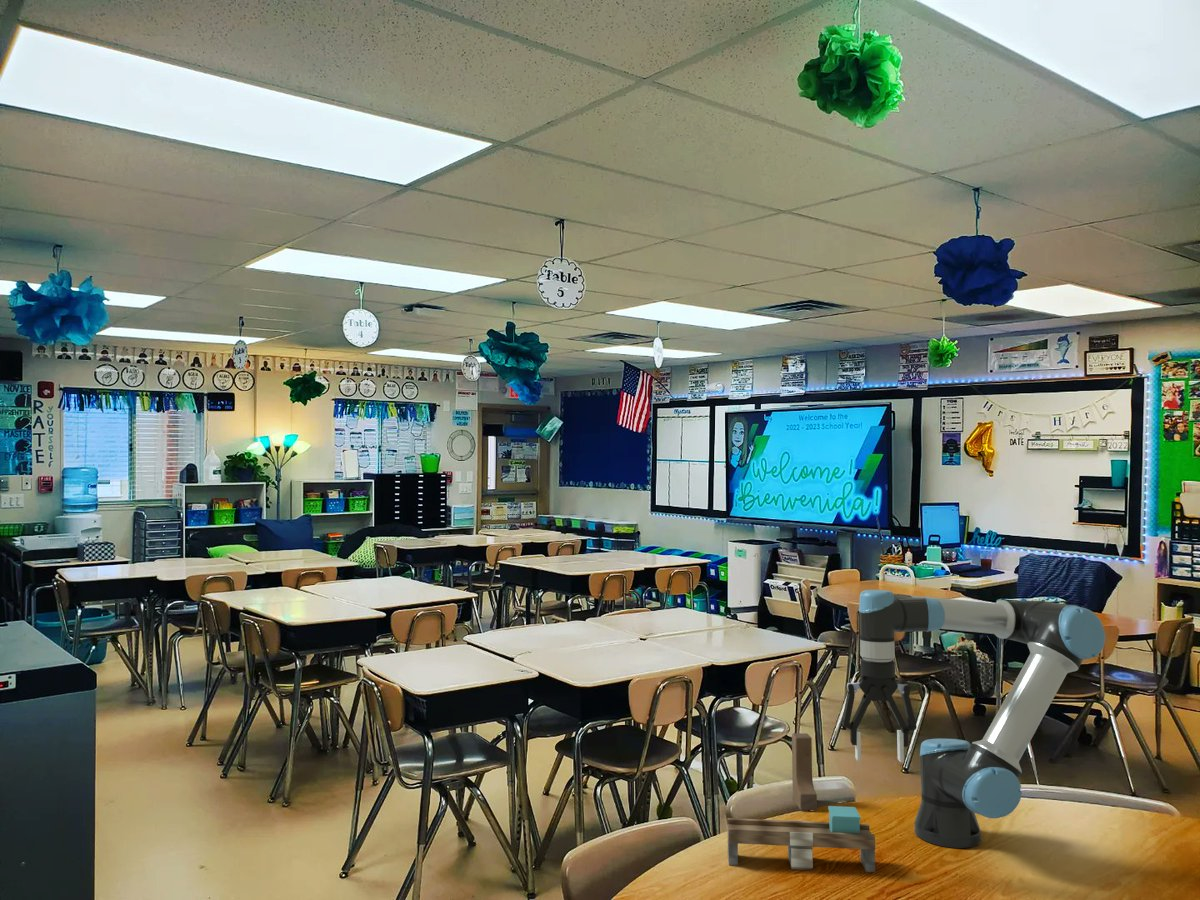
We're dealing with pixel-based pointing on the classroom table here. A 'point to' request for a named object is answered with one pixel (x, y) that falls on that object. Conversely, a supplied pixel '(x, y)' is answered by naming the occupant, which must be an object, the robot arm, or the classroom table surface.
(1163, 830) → the classroom table surface
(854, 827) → the rider
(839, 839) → the wooden bench
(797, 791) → the wooden block
